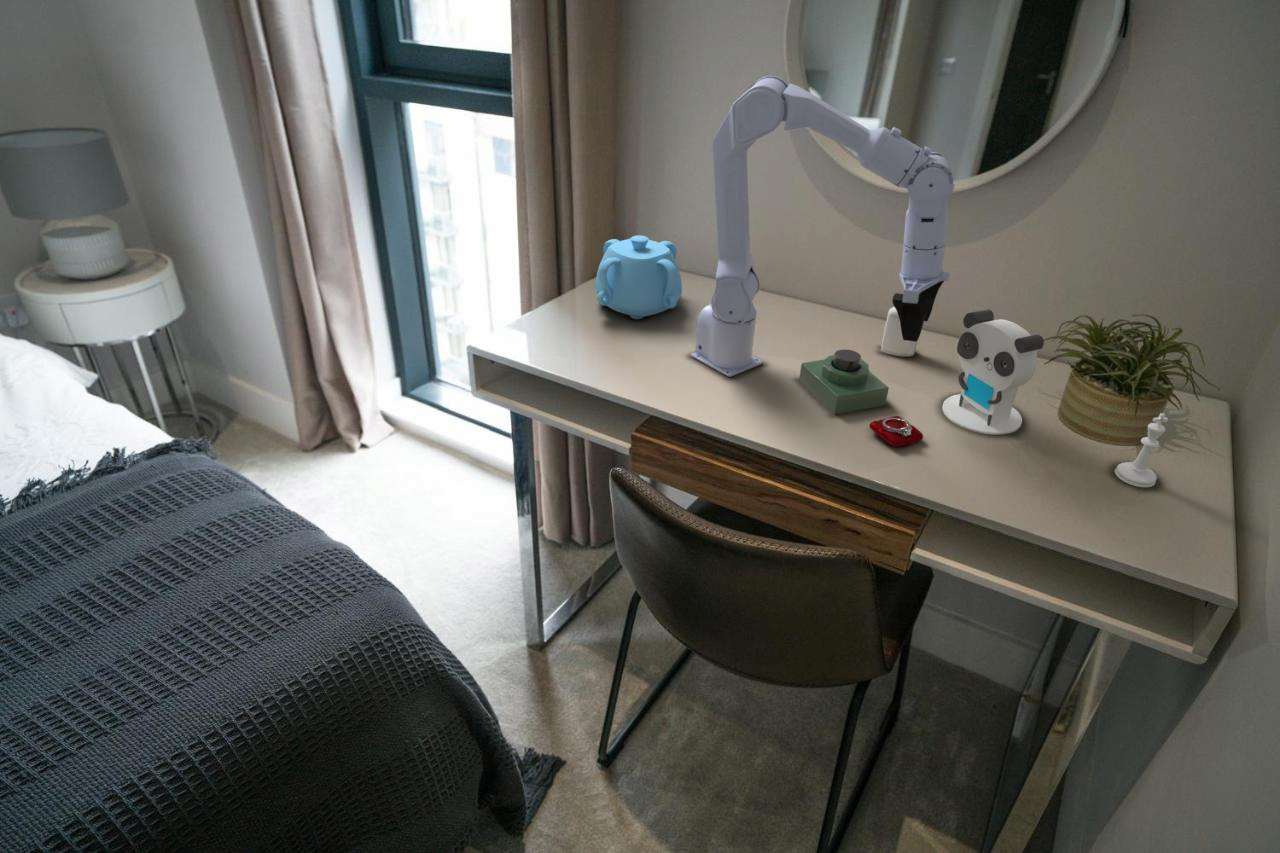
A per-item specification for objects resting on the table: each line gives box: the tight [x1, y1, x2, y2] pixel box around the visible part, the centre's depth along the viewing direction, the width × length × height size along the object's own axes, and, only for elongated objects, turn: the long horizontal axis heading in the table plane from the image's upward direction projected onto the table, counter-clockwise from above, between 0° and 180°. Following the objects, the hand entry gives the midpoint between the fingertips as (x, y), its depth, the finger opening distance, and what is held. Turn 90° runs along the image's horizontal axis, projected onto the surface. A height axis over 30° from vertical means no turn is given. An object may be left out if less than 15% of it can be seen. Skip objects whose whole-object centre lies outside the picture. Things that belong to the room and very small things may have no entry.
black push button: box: [833, 348, 862, 372], centre depth 121 cm, size 4×4×2 cm
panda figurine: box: [941, 308, 1045, 436], centre depth 116 cm, size 12×11×15 cm
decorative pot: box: [594, 235, 683, 320], centre depth 147 cm, size 16×16×14 cm
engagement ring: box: [868, 415, 924, 448], centre depth 113 cm, size 6×6×3 cm
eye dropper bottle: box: [880, 306, 918, 358], centre depth 133 cm, size 4×6×12 cm
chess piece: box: [1114, 412, 1169, 488], centre depth 104 cm, size 5×5×10 cm
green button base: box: [798, 354, 890, 415], centre depth 123 cm, size 11×9×5 cm
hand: (915, 329), depth 121 cm, fingers open, 7 cm apart
